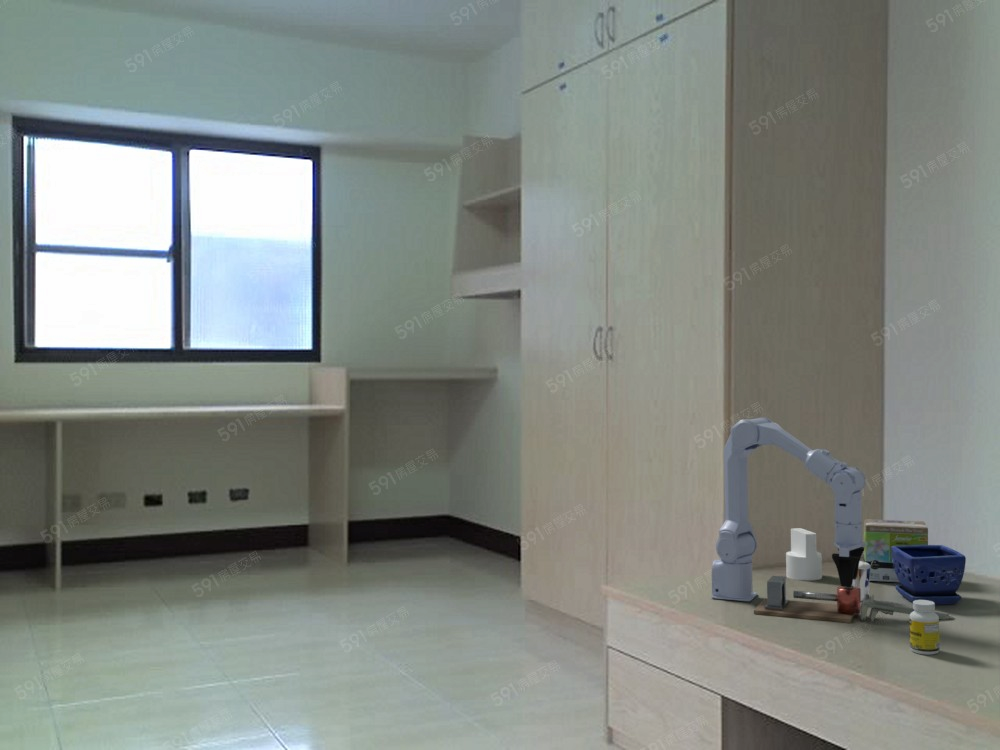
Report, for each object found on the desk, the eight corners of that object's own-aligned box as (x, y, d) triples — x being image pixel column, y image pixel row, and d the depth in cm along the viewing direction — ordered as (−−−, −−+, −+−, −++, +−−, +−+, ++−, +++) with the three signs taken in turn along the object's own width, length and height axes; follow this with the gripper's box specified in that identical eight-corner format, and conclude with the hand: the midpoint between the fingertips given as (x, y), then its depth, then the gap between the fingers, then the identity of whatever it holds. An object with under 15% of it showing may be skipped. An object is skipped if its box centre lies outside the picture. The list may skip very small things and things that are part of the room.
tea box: (865, 582, 261) (864, 524, 261) (863, 573, 271) (862, 518, 270) (928, 585, 257) (928, 526, 256) (924, 576, 266) (924, 519, 266)
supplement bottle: (904, 648, 205) (904, 599, 205) (930, 646, 205) (930, 598, 205) (918, 656, 199) (917, 606, 199) (944, 654, 200) (944, 604, 200)
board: (753, 613, 233) (753, 610, 233) (764, 601, 244) (764, 598, 244) (850, 622, 224) (850, 619, 224) (857, 609, 235) (857, 606, 235)
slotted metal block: (764, 609, 234) (764, 582, 234) (771, 600, 241) (771, 574, 241) (782, 610, 232) (781, 583, 232) (789, 602, 239) (788, 576, 239)
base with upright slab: (780, 574, 273) (779, 529, 272) (811, 571, 274) (811, 527, 274) (796, 581, 264) (795, 535, 263) (828, 579, 265) (827, 533, 265)
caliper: (862, 622, 225) (862, 594, 225) (860, 621, 226) (860, 593, 226) (954, 620, 225) (954, 591, 225) (952, 618, 226) (952, 590, 226)
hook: (792, 608, 233) (791, 584, 233) (796, 603, 237) (795, 579, 237) (859, 614, 226) (858, 589, 226) (862, 609, 231) (861, 584, 231)
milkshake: (876, 602, 241) (875, 560, 241) (852, 601, 242) (851, 559, 242) (873, 597, 245) (872, 556, 245) (849, 597, 246) (849, 555, 246)
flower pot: (969, 606, 235) (968, 555, 235) (911, 608, 235) (910, 556, 235) (943, 592, 249) (943, 544, 248) (889, 594, 248) (888, 545, 248)
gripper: (863, 529, 221) (863, 591, 221) (870, 518, 234) (871, 577, 234) (829, 526, 224) (829, 588, 224) (838, 516, 237) (839, 574, 237)
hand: (848, 582), depth 229 cm, fingers open, 7 cm apart
